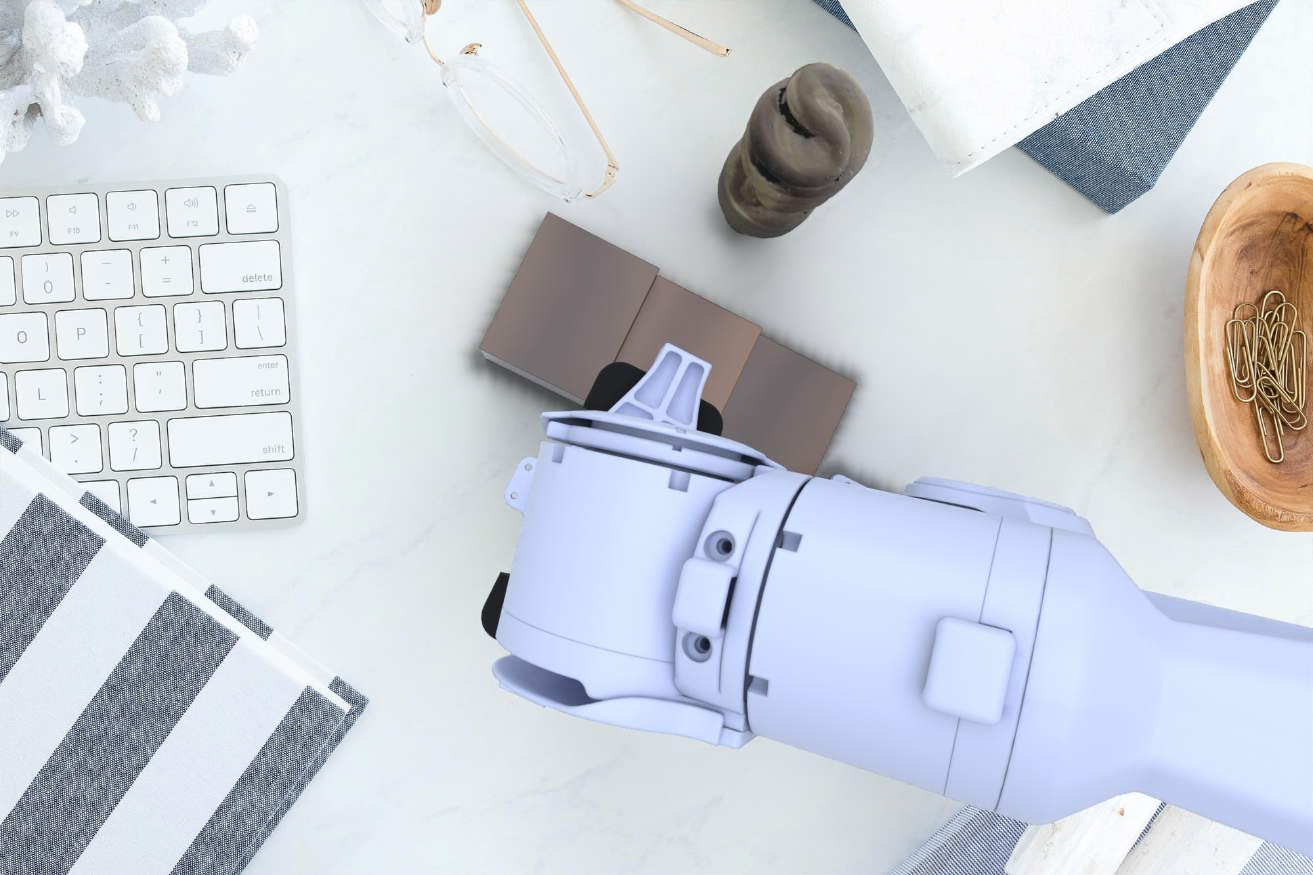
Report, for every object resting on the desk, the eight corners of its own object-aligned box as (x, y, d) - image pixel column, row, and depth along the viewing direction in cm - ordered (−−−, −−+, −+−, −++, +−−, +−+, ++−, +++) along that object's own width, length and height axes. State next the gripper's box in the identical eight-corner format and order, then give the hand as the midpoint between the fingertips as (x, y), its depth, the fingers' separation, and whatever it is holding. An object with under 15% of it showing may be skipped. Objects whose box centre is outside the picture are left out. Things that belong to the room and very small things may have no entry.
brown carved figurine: (738, 145, 53) (809, 23, 38) (813, 202, 54) (913, 103, 39) (682, 223, 53) (733, 130, 38) (759, 279, 53) (839, 209, 38)
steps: (849, 385, 54) (876, 378, 49) (791, 508, 53) (813, 513, 49) (548, 232, 52) (547, 210, 47) (485, 358, 51) (478, 348, 47)
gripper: (602, 284, 31) (588, 337, 44) (404, 681, 30) (452, 611, 43) (788, 379, 31) (718, 403, 45) (600, 770, 30) (586, 674, 44)
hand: (596, 509), depth 44 cm, fingers open, 7 cm apart
